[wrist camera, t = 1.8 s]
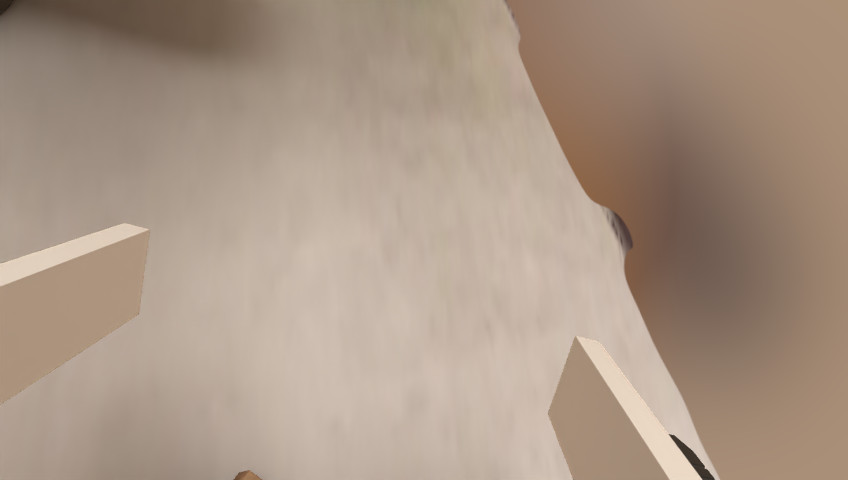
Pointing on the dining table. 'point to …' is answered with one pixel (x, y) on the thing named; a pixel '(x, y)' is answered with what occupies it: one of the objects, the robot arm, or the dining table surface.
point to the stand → (247, 476)
